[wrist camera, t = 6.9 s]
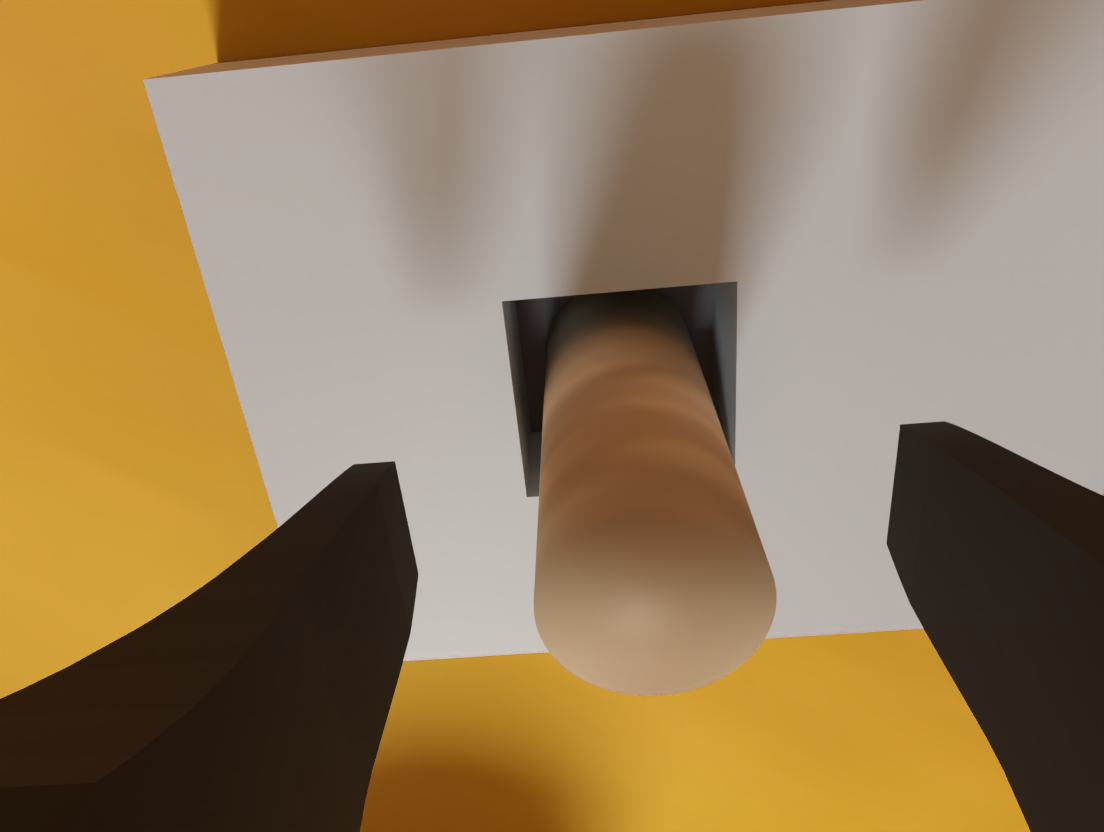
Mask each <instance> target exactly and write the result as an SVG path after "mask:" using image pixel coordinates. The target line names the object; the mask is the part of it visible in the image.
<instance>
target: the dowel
mask: <svg viewBox="0 0 1104 832" xmlns="http://www.w3.org/2000/svg"><path fill="white" fill-rule="evenodd" d="M776 601H777V592H776V586H775V580H774V577H773V574H772V571H771V568H770V565H769V562H768V560H767V557H766V554H765V551H764V548H763V545H762V542H761V539H760V537H759V534H758V531H757V528H756V525H755V522H754V519H753V516H752V514H751V511H750V508H749V505H748V502H747V499H746V496H745V494H744V491H743V488H742V485H741V482H740V479H739V476H738V473H737V471H736V468H735V465H734V462H733V459H732V456H731V453H730V450H729V448H728V445H727V442H726V439H725V436H724V433H723V430H722V427H721V425H720V422H719V419H718V416H717V413H716V410H715V407H714V405H713V402H712V399H711V396H710V393H709V390H708V387H707V384H706V382H705V379H704V376H703V373H702V370H701V367H700V364H699V361H698V359H697V356H696V353H695V350H694V347H693V344H692V341H691V339H690V336H689V333H688V330H687V327H686V324H685V321H684V320H683V318H682V316H681V314H680V312H679V311H678V310H677V308H676V307H675V306H674V305H673V304H672V303H671V302H670V301H669V300H668V299H667V298H666V297H664V296H663V295H662V294H660V293H659V292H657V291H655V290H653V289H642V290H630V291H619V292H607V293H595V294H583V295H576V296H575V297H574V298H572V299H571V300H570V301H569V302H568V303H567V304H566V305H565V306H564V307H563V308H562V309H561V310H560V312H559V313H558V314H557V316H556V318H555V319H554V321H553V323H552V326H551V328H550V331H549V334H548V339H547V346H546V366H545V386H544V406H543V425H542V445H541V465H540V485H539V505H538V525H537V544H536V564H535V584H534V617H535V623H536V627H537V630H538V632H539V635H540V637H541V639H542V641H543V643H544V645H545V647H546V648H547V649H548V651H549V652H550V653H551V655H552V656H553V657H554V658H555V659H556V660H557V661H558V662H559V663H560V664H561V665H562V666H563V667H564V668H566V669H567V670H568V671H570V672H571V673H572V674H574V675H575V676H577V677H579V678H580V679H582V680H584V681H586V682H588V683H590V684H593V685H595V686H597V687H600V688H603V689H606V690H610V691H614V692H618V693H623V694H630V695H639V696H658V695H670V694H676V693H681V692H686V691H690V690H693V689H697V688H700V687H702V686H705V685H708V684H710V683H713V682H715V681H717V680H719V679H721V678H723V677H725V676H726V675H728V674H729V673H731V672H732V671H734V670H735V669H737V668H738V667H739V666H740V665H742V664H743V663H744V662H745V661H747V660H748V659H749V658H750V657H751V655H752V654H753V653H754V652H755V651H756V650H757V649H758V647H759V646H760V645H761V643H762V642H763V641H764V639H765V637H766V635H767V633H768V631H769V630H770V627H771V625H772V622H773V619H774V616H775V610H776Z"/></svg>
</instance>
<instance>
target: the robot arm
mask: <svg viewBox="0 0 1104 832" xmlns="http://www.w3.org/2000/svg"><path fill="white" fill-rule="evenodd" d="M886 544H887V547H888V549H889V552H890V555H891V557H892V560H893V563H894V565H895V568H896V571H897V573H898V576H899V578H900V581H901V583H902V586H903V588H904V591H905V593H906V595H907V598H908V600H909V603H910V605H911V606H912V608H913V610H914V612H915V614H916V616H917V617H918V619H919V621H920V623H921V624H922V626H923V628H924V630H925V632H926V633H927V635H928V637H929V639H930V640H931V642H932V644H933V646H934V647H935V649H936V651H937V653H938V654H939V656H940V658H941V660H942V661H943V663H944V665H945V666H946V668H947V670H948V672H949V673H950V675H951V677H952V679H953V680H954V682H955V684H956V685H957V687H958V689H959V691H960V692H961V694H962V696H963V698H964V699H965V701H966V703H967V704H968V706H969V708H970V710H971V711H972V713H973V715H974V717H975V718H976V720H977V722H978V723H979V725H980V727H981V729H982V730H983V732H984V734H985V736H986V737H987V739H988V741H989V743H990V745H991V747H992V749H993V751H994V753H995V755H996V756H997V758H998V760H999V762H1000V764H1001V766H1002V768H1003V770H1004V772H1005V774H1006V777H1007V779H1008V781H1009V784H1010V786H1011V788H1012V790H1013V793H1014V795H1015V797H1016V799H1017V802H1018V804H1019V806H1020V808H1021V811H1022V813H1023V815H1024V817H1025V820H1026V822H1027V824H1028V826H1029V829H1030V831H1031V832H1104V496H1103V495H1101V494H1098V493H1096V492H1094V491H1092V490H1090V489H1088V488H1085V487H1083V486H1081V485H1079V484H1077V483H1075V482H1073V481H1071V480H1069V479H1067V478H1064V477H1062V476H1060V475H1058V474H1056V473H1054V472H1052V471H1050V470H1048V469H1046V468H1044V467H1042V466H1040V465H1038V464H1036V463H1034V462H1032V461H1030V460H1028V459H1026V458H1024V457H1022V456H1020V455H1018V454H1016V453H1014V452H1012V451H1010V450H1008V449H1006V448H1004V447H1002V446H1000V445H998V444H996V443H994V442H992V441H990V440H987V439H985V438H983V437H981V436H979V435H977V434H975V433H973V432H970V431H968V430H966V429H964V428H961V427H959V426H957V425H954V424H951V423H949V422H946V421H941V422H927V423H913V424H900V431H899V440H898V448H897V457H896V465H895V474H894V483H893V491H892V500H891V508H890V517H889V526H888V534H887V543H886ZM417 582H418V569H417V564H416V560H415V555H414V550H413V545H412V541H411V536H410V531H409V526H408V521H407V517H406V512H405V507H404V502H403V498H402V493H401V488H400V483H399V479H398V474H397V469H396V464H395V461H392V462H378V463H364V464H354V465H352V466H351V467H349V468H348V469H347V470H345V471H344V472H343V473H342V474H340V475H339V476H338V477H337V478H336V479H334V480H333V481H332V482H331V483H330V484H329V485H327V486H326V487H325V488H324V489H323V490H322V491H320V492H319V493H318V494H317V495H316V496H315V497H314V498H312V499H311V500H310V501H309V502H308V503H307V504H306V505H304V506H303V507H302V508H301V509H300V510H299V511H297V512H296V513H295V514H294V515H293V516H292V517H290V518H289V519H288V520H287V521H286V522H284V523H283V524H282V525H281V526H280V527H279V528H277V529H276V530H275V531H274V532H273V533H272V534H270V535H269V536H268V537H267V538H265V539H264V540H263V541H262V542H260V543H259V544H258V545H256V546H255V547H254V548H253V549H251V550H250V551H249V552H247V553H246V554H245V555H244V556H242V557H241V558H240V559H238V560H237V561H236V562H235V563H233V564H232V565H231V566H229V567H228V568H227V569H226V570H224V571H223V572H222V573H220V574H219V575H218V576H217V577H215V578H214V579H212V580H211V581H210V582H208V583H207V584H205V585H204V586H203V587H201V588H200V589H198V590H197V591H195V592H194V593H192V594H191V595H190V596H188V597H187V598H185V599H184V600H182V601H181V602H179V603H177V604H176V605H174V606H173V607H171V608H170V609H168V610H166V611H165V612H163V613H162V614H160V615H159V616H157V617H156V618H154V619H152V620H151V621H149V622H147V623H146V624H144V625H143V626H141V627H139V628H138V629H136V630H134V631H132V632H130V633H128V634H127V635H125V636H123V637H121V638H119V639H118V640H116V641H114V642H112V643H110V644H109V645H107V646H105V647H103V648H101V649H100V650H98V651H96V652H94V653H92V654H90V655H89V656H87V657H85V658H83V659H81V660H80V661H78V662H76V663H74V664H72V665H70V666H68V667H67V668H65V669H63V670H61V671H59V672H57V673H54V674H52V675H50V676H48V677H46V678H44V679H42V680H40V681H38V682H36V683H34V684H32V685H30V686H28V687H26V688H24V689H21V690H19V691H17V692H15V693H12V694H10V695H8V696H6V697H4V698H1V699H0V832H360V826H361V821H362V815H363V809H364V803H365V798H366V794H367V790H368V786H369V781H370V777H371V773H372V769H373V765H374V762H375V758H376V755H377V751H378V748H379V744H380V741H381V737H382V734H383V730H384V727H385V723H386V720H387V716H388V713H389V709H390V706H391V702H392V699H393V695H394V692H395V688H396V685H397V681H398V677H399V674H400V670H401V667H402V663H403V659H404V656H405V652H406V649H407V645H408V641H409V637H410V633H411V627H412V620H413V613H414V606H415V598H416V590H417Z"/></svg>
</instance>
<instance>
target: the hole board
mask: <svg viewBox="0 0 1104 832" xmlns="http://www.w3.org/2000/svg"><path fill="white" fill-rule="evenodd" d="M143 82H144V85H145V88H146V92H147V95H148V98H149V102H150V105H151V108H152V112H153V115H154V118H155V122H156V125H157V128H158V132H159V135H160V138H161V142H162V145H163V148H164V152H165V155H166V158H167V162H168V165H169V168H170V172H171V175H172V178H173V181H174V185H175V188H176V191H177V195H178V198H179V201H180V205H181V208H182V211H183V215H184V218H185V221H186V225H187V228H188V231H189V235H190V238H191V241H192V245H193V248H194V251H195V255H196V258H197V261H198V265H199V268H200V271H201V275H202V278H203V281H204V284H205V288H206V291H207V294H208V298H209V301H210V304H211V308H212V311H213V314H214V318H215V321H216V324H217V328H218V331H219V334H220V338H221V341H222V344H223V348H224V351H225V354H226V358H227V361H228V364H229V368H230V371H231V374H232V378H233V381H234V384H235V387H236V391H237V394H238V397H239V401H240V404H241V407H242V411H243V414H244V417H245V421H246V424H247V427H248V431H249V434H250V437H251V441H252V444H253V447H254V451H255V454H256V457H257V461H258V464H259V467H260V471H261V474H262V477H263V480H264V484H265V487H266V490H267V494H268V497H269V500H270V504H271V507H272V510H273V514H274V517H275V520H276V524H277V527H278V528H279V527H280V526H281V525H282V524H283V523H284V522H286V521H287V520H288V519H289V518H290V517H292V516H293V515H294V514H295V513H296V512H297V511H299V510H300V509H301V508H302V507H303V506H304V505H306V504H307V503H308V502H309V501H310V500H311V499H312V498H314V497H315V496H316V495H317V494H318V493H319V492H320V491H322V490H323V489H324V488H325V487H326V486H327V485H329V484H330V483H331V482H332V481H333V480H334V479H336V478H337V477H338V476H339V475H340V474H342V473H343V472H344V471H345V470H347V469H348V468H349V467H351V466H352V465H354V464H364V463H378V462H392V461H395V464H396V469H397V474H398V479H399V483H400V488H401V493H402V498H403V502H404V507H405V512H406V517H407V521H408V526H409V531H410V536H411V541H412V545H413V550H414V555H415V560H416V564H417V569H418V582H417V590H416V598H415V606H414V613H413V620H412V627H411V633H410V637H409V641H408V645H407V649H406V652H405V656H404V659H403V661H413V660H429V659H445V658H461V657H477V656H493V655H509V654H525V653H541V652H549V651H548V649H547V648H546V647H545V645H544V643H543V641H542V639H541V637H540V635H539V632H538V630H537V627H536V623H535V617H534V584H535V564H536V544H537V525H538V505H539V485H540V465H541V445H542V425H543V406H544V386H545V366H546V346H547V339H548V334H549V331H550V328H551V326H552V323H553V321H554V319H555V318H556V316H557V314H558V313H559V312H560V310H561V309H562V308H563V307H564V306H565V305H566V304H567V303H568V302H569V301H570V300H571V299H572V298H574V297H575V296H576V295H583V294H595V293H607V292H619V291H630V290H642V289H653V290H655V291H657V292H659V293H660V294H662V295H663V296H664V297H666V298H667V299H668V300H669V301H670V302H671V303H672V304H673V305H674V306H675V307H676V308H677V310H678V311H679V312H680V314H681V316H682V318H683V320H684V321H685V324H686V327H687V330H688V333H689V336H690V339H691V341H692V344H693V347H694V350H695V353H696V356H697V359H698V361H699V364H700V367H701V370H702V373H703V376H704V379H705V382H706V384H707V387H708V390H709V393H710V396H711V399H712V402H713V405H714V407H715V410H716V413H717V416H718V419H719V422H720V425H721V427H722V430H723V433H724V436H725V439H726V442H727V445H728V448H729V450H730V453H731V456H732V459H733V462H734V465H735V468H736V471H737V473H738V476H739V479H740V482H741V485H742V488H743V491H744V494H745V496H746V499H747V502H748V505H749V508H750V511H751V514H752V516H753V519H754V522H755V525H756V528H757V531H758V534H759V537H760V539H761V542H762V545H763V548H764V551H765V554H766V557H767V560H768V562H769V565H770V568H771V571H772V574H773V577H774V580H775V586H776V592H777V601H776V610H775V616H774V619H773V622H772V625H771V627H770V630H769V631H768V633H767V635H766V637H765V638H781V637H797V636H813V635H829V634H844V633H860V632H876V631H892V630H908V629H924V628H923V626H922V624H921V623H920V621H919V619H918V617H917V616H916V614H915V612H914V610H913V608H912V606H911V605H910V603H909V600H908V598H907V595H906V593H905V591H904V588H903V586H902V583H901V581H900V578H899V576H898V573H897V571H896V568H895V565H894V563H893V560H892V557H891V555H890V552H889V549H888V547H887V544H886V543H887V534H888V526H889V517H890V508H891V500H892V491H893V483H894V474H895V465H896V457H897V448H898V440H899V431H900V424H913V423H927V422H941V421H946V422H949V423H951V424H954V425H957V426H959V427H961V428H964V429H966V430H968V431H970V432H973V433H975V434H977V435H979V436H981V437H983V438H985V439H987V440H990V441H992V442H994V443H996V444H998V445H1000V446H1002V447H1004V448H1006V449H1008V450H1010V451H1012V452H1014V453H1016V454H1018V455H1020V456H1022V457H1024V458H1026V459H1028V460H1030V461H1032V462H1034V463H1036V464H1038V465H1040V466H1042V467H1044V468H1046V469H1048V470H1050V471H1052V472H1054V473H1056V474H1058V475H1060V476H1062V477H1064V478H1067V479H1069V480H1071V481H1073V482H1075V483H1077V484H1079V485H1081V486H1083V487H1085V488H1088V489H1090V490H1092V491H1094V492H1096V493H1098V494H1101V495H1103V491H1104V0H830V1H820V2H810V3H801V4H791V5H781V6H771V7H761V8H752V9H742V10H732V11H722V12H713V13H703V14H693V15H683V16H673V17H664V18H654V19H644V20H634V21H624V22H615V23H605V24H595V25H585V26H575V27H566V28H556V29H546V30H536V31H527V32H517V33H507V34H497V35H487V36H478V37H468V38H458V39H448V40H438V41H429V42H419V43H409V44H399V45H389V46H380V47H370V48H360V49H350V50H341V51H331V52H321V53H311V54H301V55H292V56H282V57H272V58H262V59H252V60H243V61H233V62H223V63H215V64H211V65H206V66H202V67H197V68H193V69H188V70H184V71H179V72H175V73H170V74H166V75H161V76H157V77H152V78H148V79H143Z"/></svg>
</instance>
